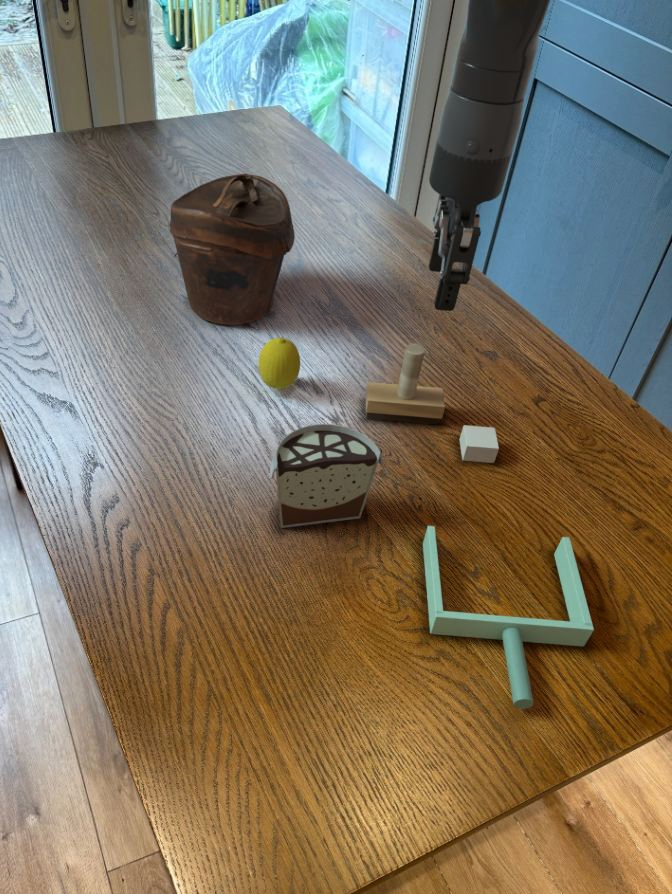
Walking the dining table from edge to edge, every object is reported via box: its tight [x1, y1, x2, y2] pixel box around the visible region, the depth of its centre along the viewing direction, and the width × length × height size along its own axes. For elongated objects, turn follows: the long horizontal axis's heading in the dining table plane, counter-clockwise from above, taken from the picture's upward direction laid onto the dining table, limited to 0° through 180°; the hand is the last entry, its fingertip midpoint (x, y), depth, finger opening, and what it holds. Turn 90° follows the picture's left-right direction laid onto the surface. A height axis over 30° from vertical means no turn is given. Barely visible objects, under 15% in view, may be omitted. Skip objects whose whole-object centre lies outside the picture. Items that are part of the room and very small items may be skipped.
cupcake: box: [269, 423, 384, 529], centre depth 84 cm, size 12×6×10 cm, turn 102°
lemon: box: [258, 337, 301, 390], centre depth 99 cm, size 6×6×8 cm
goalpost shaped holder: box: [422, 525, 595, 710], centre depth 76 cm, size 20×16×3 cm
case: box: [169, 173, 296, 326], centre depth 110 cm, size 18×20×18 cm
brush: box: [365, 343, 446, 426], centre depth 96 cm, size 4×10×10 cm, turn 86°
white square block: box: [459, 424, 500, 464], centre depth 95 cm, size 4×4×2 cm
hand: (440, 288), depth 86 cm, fingers open, 8 cm apart
